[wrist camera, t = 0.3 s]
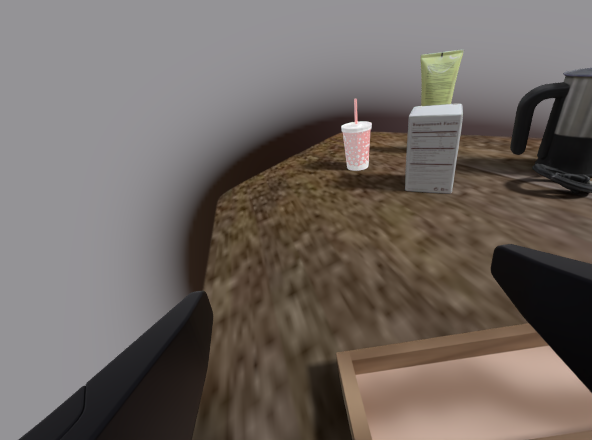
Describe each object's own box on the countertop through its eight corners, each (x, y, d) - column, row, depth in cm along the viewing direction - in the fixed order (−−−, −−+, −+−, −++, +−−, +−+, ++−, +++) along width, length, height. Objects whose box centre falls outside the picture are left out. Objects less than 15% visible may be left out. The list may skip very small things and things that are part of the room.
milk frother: (581, 156, 50) (617, 63, 43) (671, 194, 37) (746, 67, 29) (494, 164, 52) (513, 77, 45) (548, 202, 39) (589, 87, 32)
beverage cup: (349, 161, 65) (346, 97, 58) (375, 162, 62) (375, 94, 55) (339, 170, 61) (334, 102, 54) (366, 172, 58) (365, 100, 51)
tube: (433, 144, 67) (443, 50, 57) (450, 149, 62) (464, 48, 53) (413, 150, 65) (420, 54, 56) (429, 155, 61) (440, 52, 51)
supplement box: (409, 175, 54) (413, 105, 47) (452, 177, 50) (464, 102, 44) (403, 191, 48) (407, 115, 42) (451, 194, 45) (464, 112, 38)
